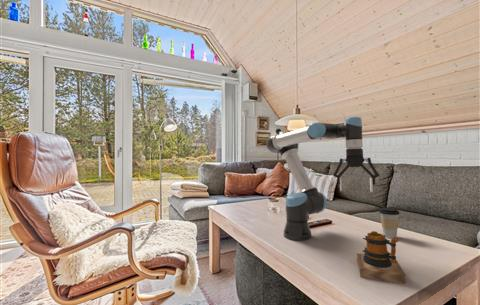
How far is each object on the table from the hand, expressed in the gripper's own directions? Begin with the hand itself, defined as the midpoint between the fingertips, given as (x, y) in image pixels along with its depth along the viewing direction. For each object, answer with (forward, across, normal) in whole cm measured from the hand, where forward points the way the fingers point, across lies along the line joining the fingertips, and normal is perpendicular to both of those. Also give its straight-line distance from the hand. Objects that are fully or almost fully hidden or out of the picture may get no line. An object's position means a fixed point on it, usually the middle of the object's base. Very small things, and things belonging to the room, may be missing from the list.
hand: (355, 191), depth 115 cm
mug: (+24, +6, -25) cm, 35 cm away
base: (+27, +5, -25) cm, 37 cm away
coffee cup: (+27, +17, +18) cm, 37 cm away
